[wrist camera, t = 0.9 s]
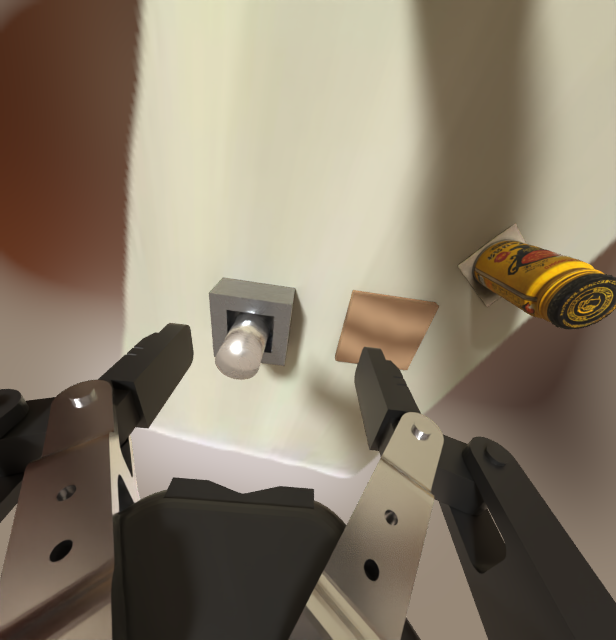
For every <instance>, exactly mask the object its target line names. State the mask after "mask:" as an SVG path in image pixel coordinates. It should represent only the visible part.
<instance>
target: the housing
mask: <svg viewBox="0 0 616 640" xmlns="http://www.w3.org/2000/svg"><path fill="white" fill-rule="evenodd" d="M294 293H295V288H290V287H284V286H277V285H270V284H263V283H257V282H250V281H243V280H236V279H229V278H222V279H221V280H220V281H219V282H218V284H217V285H216V286H215V287H214V288H213V289H212V290H211V291H210V292H209V300H210V312H211V325H212V337H213V350H214V357H216V354H217V353H218V351H219V349H220V347H221V345H222V344H223V342H224V340H225V338H226V336H227V335H228V333H229V331H230V329H231V327H232V326H233V324H234V322H235V320H236V318H237V317H238V315H239V313H240V312H246V313H253V314H260V315H267V316H273V322H272V325H271V329H270V332H269V336H268V339H267V342H266V346H265V349H264V353H263V356H262V360H261V363H267V364H275V365H282V366H284V365H285V359H286V353H287V346H288V339H289V331H290V324H291V316H292V309H293V301H294Z"/></svg>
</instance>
